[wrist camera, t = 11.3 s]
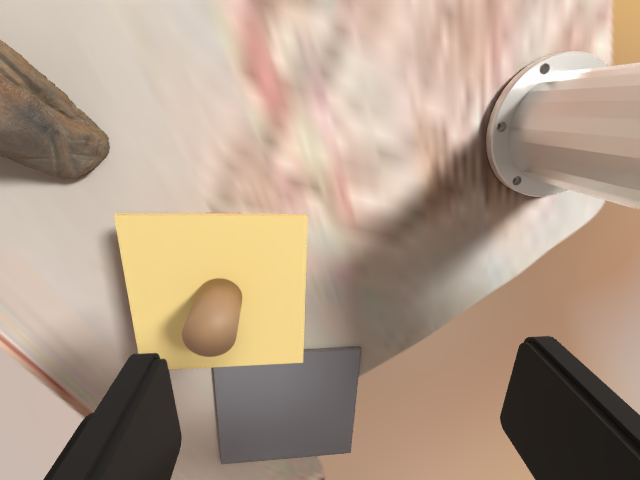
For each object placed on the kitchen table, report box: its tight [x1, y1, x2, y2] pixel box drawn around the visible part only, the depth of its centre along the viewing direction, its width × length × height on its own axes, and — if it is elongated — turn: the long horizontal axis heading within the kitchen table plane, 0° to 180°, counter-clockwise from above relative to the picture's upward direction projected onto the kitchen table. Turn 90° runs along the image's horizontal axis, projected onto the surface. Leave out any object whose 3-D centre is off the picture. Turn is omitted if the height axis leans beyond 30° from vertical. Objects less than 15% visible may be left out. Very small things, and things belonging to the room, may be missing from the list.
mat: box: [213, 347, 361, 464], centre depth 40 cm, size 16×16×1 cm
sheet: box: [114, 213, 308, 370], centre depth 26 cm, size 14×14×6 cm
